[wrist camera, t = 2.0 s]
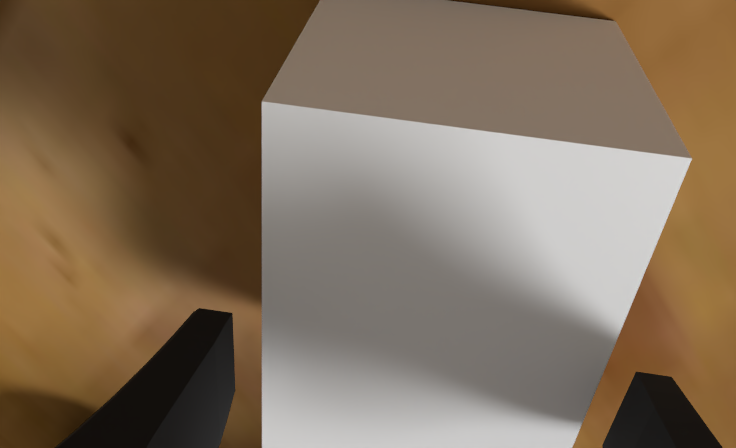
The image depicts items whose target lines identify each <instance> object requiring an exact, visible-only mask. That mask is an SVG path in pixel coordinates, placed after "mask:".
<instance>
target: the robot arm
mask: <svg viewBox="0 0 736 448" xmlns="http://www.w3.org/2000/svg"><path fill="white" fill-rule="evenodd" d="M234 392H235V373H234V345H233V318H232V313H228V312H221V311H214V310H208V309H201V308H199V309H197V310H196V311H194V312H193V313H192V314H191V315H190V317H189V318H188V319H187V320H186V321H185V322H184V323H183V325H182V326H181V327H180V328H179V329H178V330H177V331H176V332H175V334H174V335H173V336H172V337H171V338H170V339H169V340H168V341H167V342H166V343H165V344H164V345H163V347H162V348H161V349H160V350H159V351H158V352H157V353H156V354H155V355H154V356H153V357H152V358H151V359H150V360H149V361H148V362H147V363H146V364H145V365H144V366H143V367H142V368H141V369H140V370H139V371H138V372H137V373H136V374H135V375H134V376H133V377H132V378H131V379H130V380H129V381H128V382H127V383H126V384H125V385H124V386H123V387H122V388H121V389H120V390H119V391H118V392H117V393H116V394H115V395H114V396H113V397H112V398H111V399H110V400H109V401H107V402H106V403H105V404H104V405H103V406H102V407H101V408H100V409H99V410H97V411H96V412H95V413H94V414H93V415H92V416H91V417H90V418H89V419H87V420H86V421H85V422H84V423H83V424H82V425H81V426H80V427H79V428H77V429H76V430H75V431H74V432H73V433H72V434H70V435H69V436H68V437H67V438H66V439H65V440H63V441H62V442H61V443H60V444H59V445H57V446H56V447H55V448H218V447H219V445H220V442H221V439H222V435H223V432H224V429H225V425H226V422H227V418H228V414H229V411H230V407H231V403H232V400H233V396H234ZM603 448H722V446H721V445H720V443H719V442H718V441H717V439H716V438H715V437H714V435H713V434H712V432H711V431H710V430H709V428H708V427H707V426H706V424H705V423H704V421H703V420H702V419H701V417H700V416H699V414H698V413H697V412H696V410H695V409H694V407H693V406H692V405H691V403H690V402H689V401H688V399H687V398H686V396H685V395H684V394H683V392H682V391H681V389H680V388H679V387H678V385H677V384H676V382H675V381H674V380H673V378H672V377H669V376H662V375H655V374H648V373H641V372H636V373H635V375H634V378H633V380H632V382H631V384H630V386H629V388H628V391H627V393H626V395H625V397H624V399H623V402H622V404H621V406H620V408H619V410H618V412H617V415H616V417H615V419H614V421H613V423H612V426H611V428H610V430H609V432H608V434H607V436H606V439H605V441H604V443H603Z"/></svg>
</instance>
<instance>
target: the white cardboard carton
mask: <svg viewBox="0 0 736 448" xmlns="http://www.w3.org/2000/svg"><path fill="white" fill-rule="evenodd" d="M691 160H692V158H691V156H690V154H689V152H688V151H687V149H686V147H685V145H684V143H683V141H682V140H681V138H680V136H679V134H678V132H677V131H676V129H675V127H674V125H673V123H672V122H671V120H670V118H669V116H668V114H667V113H666V111H665V109H664V107H663V105H662V104H661V102H660V100H659V98H658V96H657V95H656V93H655V91H654V89H653V87H652V86H651V84H650V82H649V80H648V78H647V77H646V75H645V73H644V71H643V69H642V68H641V66H640V64H639V62H638V60H637V59H636V57H635V55H634V53H633V51H632V50H631V48H630V46H629V44H628V42H627V41H626V39H625V37H624V35H623V33H622V32H621V30H620V28H619V26H618V24H617V23H616V21H610V20H602V19H594V18H586V17H578V16H570V15H562V14H553V13H545V12H537V11H529V10H521V9H513V8H505V7H497V6H489V5H481V4H473V3H465V2H457V1H449V0H320V1H319V3H318V5H317V6H316V8H315V10H314V12H313V13H312V15H311V17H310V18H309V20H308V22H307V24H306V25H305V27H304V29H303V31H302V32H301V34H300V36H299V38H298V39H297V41H296V43H295V44H294V46H293V48H292V50H291V51H290V53H289V55H288V57H287V58H286V60H285V62H284V64H283V65H282V67H281V69H280V70H279V72H278V74H277V76H276V77H275V79H274V81H273V83H272V84H271V86H270V88H269V90H268V91H267V93H266V95H265V96H264V98H263V100H262V448H572V447H573V444H574V442H575V440H576V437H577V435H578V432H579V430H580V427H581V425H582V423H583V420H584V418H585V415H586V413H587V411H588V408H589V406H590V403H591V401H592V399H593V396H594V394H595V391H596V389H597V386H598V384H599V382H600V379H601V377H602V374H603V372H604V370H605V367H606V365H607V362H608V360H609V358H610V355H611V353H612V350H613V348H614V345H615V343H616V341H617V338H618V336H619V333H620V331H621V329H622V326H623V324H624V321H625V319H626V316H627V314H628V312H629V309H630V307H631V304H632V302H633V300H634V297H635V295H636V292H637V290H638V288H639V285H640V283H641V280H642V278H643V275H644V273H645V271H646V268H647V266H648V263H649V261H650V259H651V256H652V254H653V251H654V249H655V247H656V244H657V242H658V239H659V237H660V234H661V232H662V230H663V227H664V225H665V222H666V220H667V218H668V215H669V213H670V210H671V208H672V206H673V203H674V201H675V198H676V196H677V193H678V191H679V189H680V186H681V184H682V181H683V179H684V177H685V174H686V172H687V169H688V167H689V165H690V162H691Z"/></svg>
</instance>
